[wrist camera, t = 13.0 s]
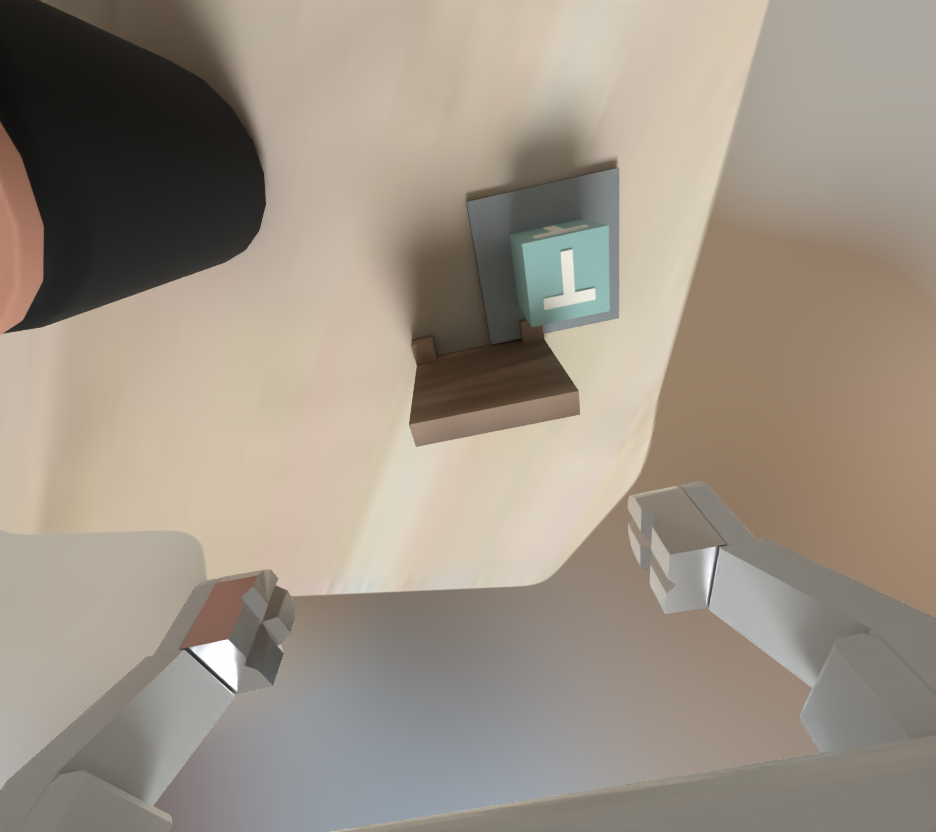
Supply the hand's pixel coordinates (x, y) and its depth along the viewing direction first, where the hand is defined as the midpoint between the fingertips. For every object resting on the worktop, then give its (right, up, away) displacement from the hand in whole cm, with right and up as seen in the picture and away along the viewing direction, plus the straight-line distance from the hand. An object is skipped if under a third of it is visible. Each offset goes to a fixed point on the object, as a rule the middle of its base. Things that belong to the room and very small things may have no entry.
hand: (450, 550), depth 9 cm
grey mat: (+6, +14, +20) cm, 25 cm away
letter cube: (+6, +14, +19) cm, 24 cm away
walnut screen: (+1, +8, +23) cm, 24 cm away
